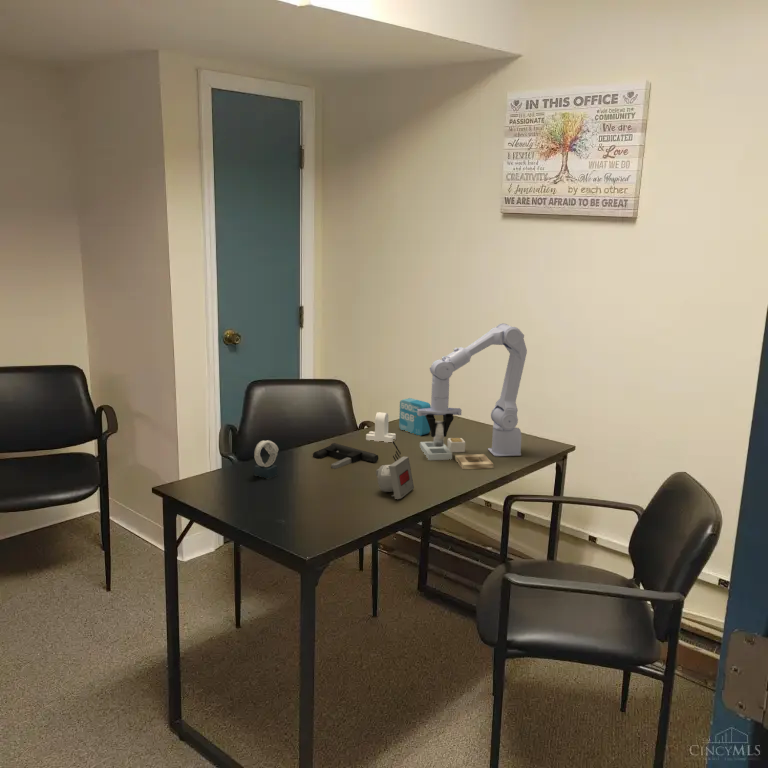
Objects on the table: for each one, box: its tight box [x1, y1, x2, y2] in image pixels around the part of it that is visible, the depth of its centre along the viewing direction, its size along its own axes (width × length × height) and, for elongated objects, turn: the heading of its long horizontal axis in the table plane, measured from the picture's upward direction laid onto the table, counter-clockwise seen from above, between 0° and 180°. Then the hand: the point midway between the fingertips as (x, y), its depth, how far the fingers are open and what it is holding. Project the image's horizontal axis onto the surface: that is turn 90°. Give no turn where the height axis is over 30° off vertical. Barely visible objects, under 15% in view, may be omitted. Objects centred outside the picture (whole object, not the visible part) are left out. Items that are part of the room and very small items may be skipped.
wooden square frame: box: [454, 453, 494, 470], centre depth 233 cm, size 10×10×2 cm
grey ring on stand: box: [253, 439, 279, 479], centre depth 218 cm, size 6×8×11 cm
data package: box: [398, 397, 431, 437], centre depth 267 cm, size 12×4×12 cm, turn 44°
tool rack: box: [419, 441, 453, 461], centre depth 243 cm, size 8×14×2 cm, turn 9°
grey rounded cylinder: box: [432, 420, 445, 447], centre depth 238 cm, size 4×4×8 cm
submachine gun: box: [312, 442, 379, 470], centre depth 235 cm, size 3×20×16 cm
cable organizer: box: [365, 411, 397, 443], centre depth 257 cm, size 5×10×10 cm, turn 73°
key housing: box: [446, 437, 466, 453], centre depth 247 cm, size 5×5×4 cm
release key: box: [450, 437, 462, 442], centre depth 247 cm, size 3×3×3 cm
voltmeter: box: [375, 441, 415, 500], centre depth 213 cm, size 27×11×10 cm, turn 10°
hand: (438, 436), depth 239 cm, fingers closed on grey rounded cylinder, 3 cm apart
